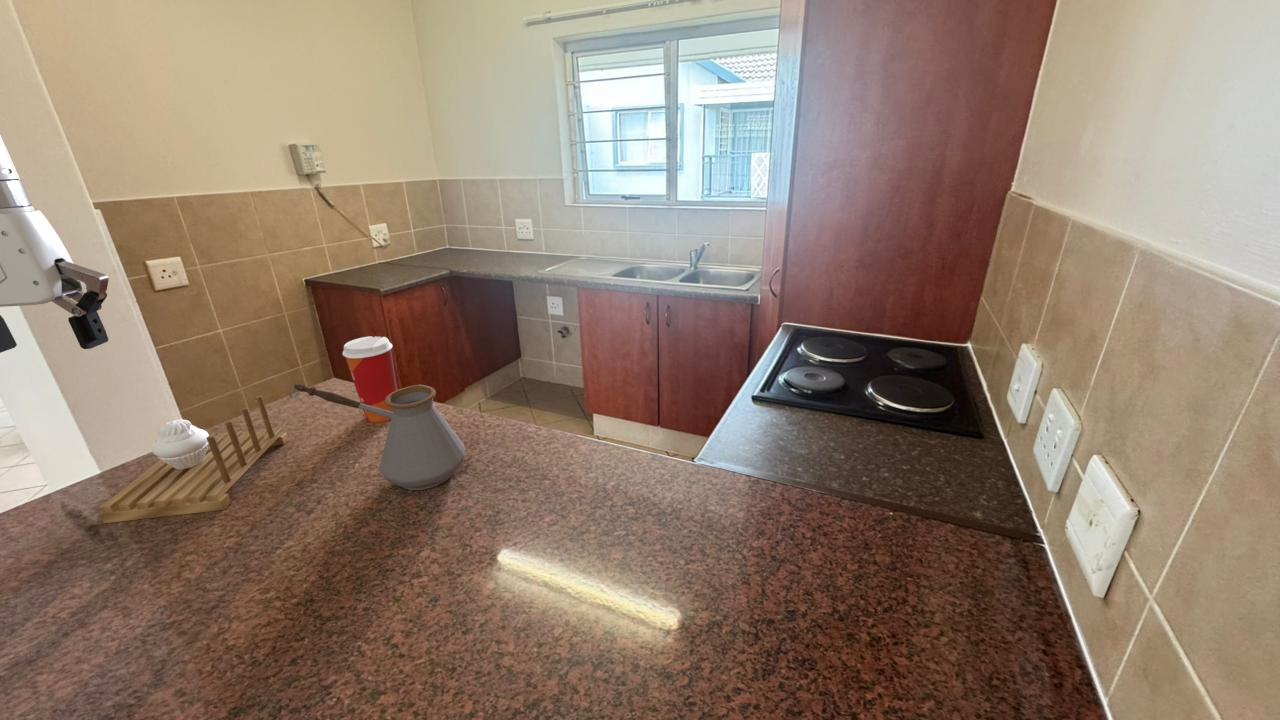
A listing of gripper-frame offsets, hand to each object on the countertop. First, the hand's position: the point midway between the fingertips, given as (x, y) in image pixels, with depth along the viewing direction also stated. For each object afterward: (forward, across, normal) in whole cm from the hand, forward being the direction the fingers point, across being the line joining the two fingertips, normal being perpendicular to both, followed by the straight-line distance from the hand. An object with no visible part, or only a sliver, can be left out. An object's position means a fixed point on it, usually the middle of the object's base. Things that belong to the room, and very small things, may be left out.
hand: (49, 348), depth 60 cm
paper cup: (+22, +28, +19) cm, 41 cm away
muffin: (+20, +6, +4) cm, 21 cm away
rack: (+22, +8, +4) cm, 24 cm away
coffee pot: (+22, +35, -1) cm, 42 cm away
